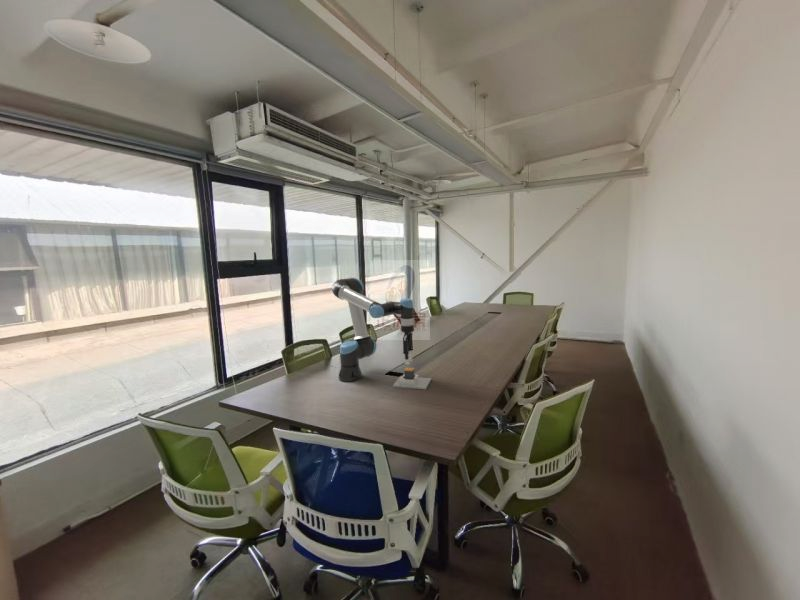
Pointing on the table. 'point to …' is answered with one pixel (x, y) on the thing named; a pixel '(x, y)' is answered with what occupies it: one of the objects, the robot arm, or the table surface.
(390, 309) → the robot arm
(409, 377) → the plug
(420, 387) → the socket plate
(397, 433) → the table surface
